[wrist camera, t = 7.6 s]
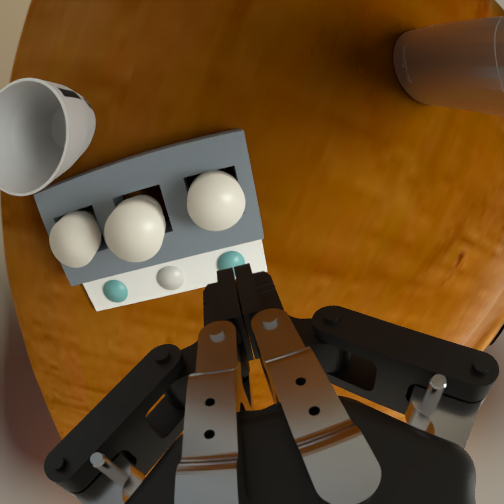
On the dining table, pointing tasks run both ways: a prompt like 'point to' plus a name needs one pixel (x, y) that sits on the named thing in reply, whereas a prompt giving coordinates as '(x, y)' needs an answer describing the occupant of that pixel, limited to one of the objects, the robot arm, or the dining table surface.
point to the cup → (40, 133)
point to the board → (174, 194)
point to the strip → (173, 276)
